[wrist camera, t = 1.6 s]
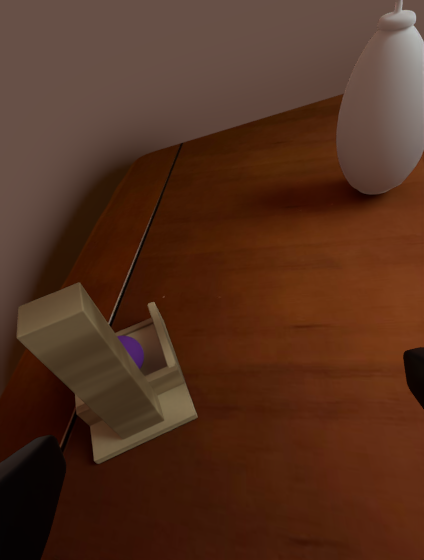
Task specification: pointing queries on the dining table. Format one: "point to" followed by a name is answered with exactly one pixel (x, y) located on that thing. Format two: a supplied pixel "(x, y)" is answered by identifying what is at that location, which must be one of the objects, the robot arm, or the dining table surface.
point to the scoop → (108, 369)
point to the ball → (133, 349)
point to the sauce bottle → (384, 107)
